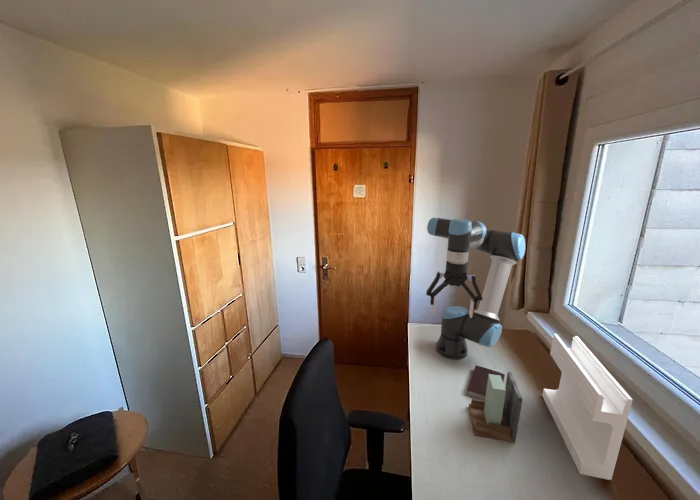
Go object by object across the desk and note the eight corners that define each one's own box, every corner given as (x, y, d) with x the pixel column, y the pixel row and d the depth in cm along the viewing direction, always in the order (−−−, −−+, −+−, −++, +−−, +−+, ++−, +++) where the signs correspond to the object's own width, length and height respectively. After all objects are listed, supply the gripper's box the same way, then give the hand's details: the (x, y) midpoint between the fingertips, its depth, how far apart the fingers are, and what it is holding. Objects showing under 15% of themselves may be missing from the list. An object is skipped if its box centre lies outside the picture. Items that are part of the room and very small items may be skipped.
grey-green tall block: (483, 411, 117) (488, 373, 113) (495, 413, 116) (500, 375, 112) (487, 427, 110) (493, 388, 106) (500, 430, 109) (505, 390, 105)
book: (504, 379, 138) (505, 373, 137) (499, 407, 122) (500, 400, 121) (474, 371, 144) (474, 364, 143) (465, 396, 128) (466, 389, 127)
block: (611, 480, 93) (632, 399, 86) (580, 473, 95) (598, 394, 88) (564, 399, 126) (577, 336, 119) (542, 395, 128) (553, 333, 121)
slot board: (468, 406, 121) (473, 367, 117) (505, 412, 119) (511, 372, 114) (474, 435, 108) (479, 392, 104) (515, 443, 105) (522, 398, 101)
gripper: (422, 261, 115) (418, 314, 120) (495, 266, 110) (488, 322, 115) (422, 256, 122) (419, 306, 128) (491, 261, 117) (484, 313, 122)
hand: (452, 314), depth 121 cm, fingers open, 13 cm apart
